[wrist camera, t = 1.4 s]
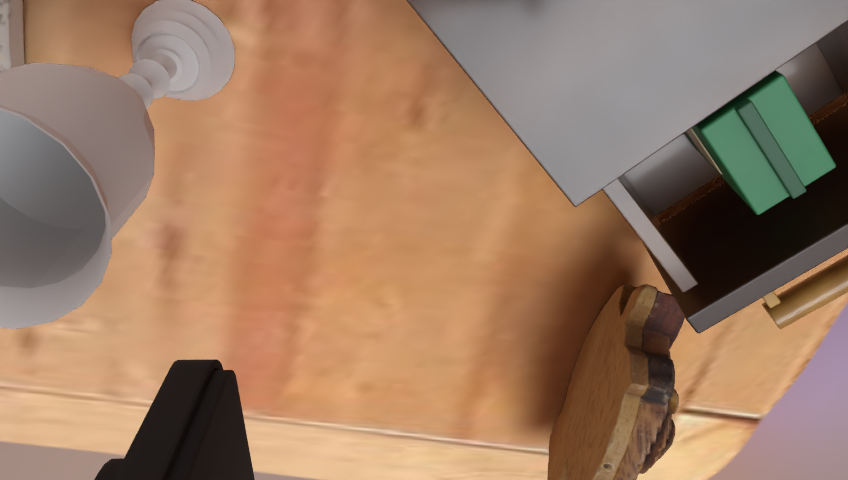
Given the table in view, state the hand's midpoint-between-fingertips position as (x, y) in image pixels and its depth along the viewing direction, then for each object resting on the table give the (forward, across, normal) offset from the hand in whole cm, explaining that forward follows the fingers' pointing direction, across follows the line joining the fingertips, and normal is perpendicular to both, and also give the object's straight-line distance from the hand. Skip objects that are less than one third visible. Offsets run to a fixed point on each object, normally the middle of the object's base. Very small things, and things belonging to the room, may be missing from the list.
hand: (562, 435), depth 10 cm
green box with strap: (+25, -11, +2) cm, 28 cm away
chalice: (+27, +14, +1) cm, 31 cm away
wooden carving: (+28, -9, +20) cm, 35 cm away
